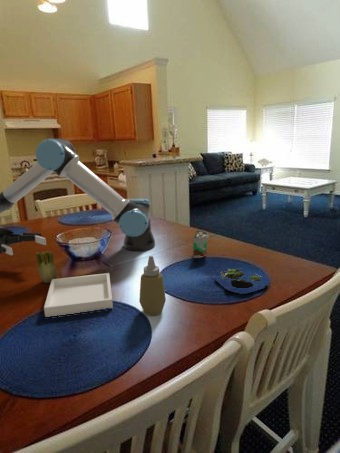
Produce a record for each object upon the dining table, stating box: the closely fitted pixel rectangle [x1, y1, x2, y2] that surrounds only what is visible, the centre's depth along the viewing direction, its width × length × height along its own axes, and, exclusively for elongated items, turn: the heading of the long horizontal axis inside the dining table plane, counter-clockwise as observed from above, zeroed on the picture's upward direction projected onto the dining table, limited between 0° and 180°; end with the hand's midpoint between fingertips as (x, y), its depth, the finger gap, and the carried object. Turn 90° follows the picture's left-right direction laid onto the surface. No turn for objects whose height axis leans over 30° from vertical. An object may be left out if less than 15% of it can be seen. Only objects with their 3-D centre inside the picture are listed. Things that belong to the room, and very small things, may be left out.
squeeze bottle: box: [138, 255, 167, 316], centre depth 97 cm, size 8×8×18 cm
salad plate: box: [220, 268, 261, 288], centre depth 118 cm, size 19×18×5 cm
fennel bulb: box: [35, 250, 58, 284], centre depth 119 cm, size 6×5×12 cm
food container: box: [192, 229, 210, 257], centre depth 142 cm, size 12×6×10 cm, turn 168°
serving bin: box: [43, 272, 114, 317], centre depth 108 cm, size 20×20×4 cm
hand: (29, 246), depth 123 cm, fingers open, 13 cm apart
